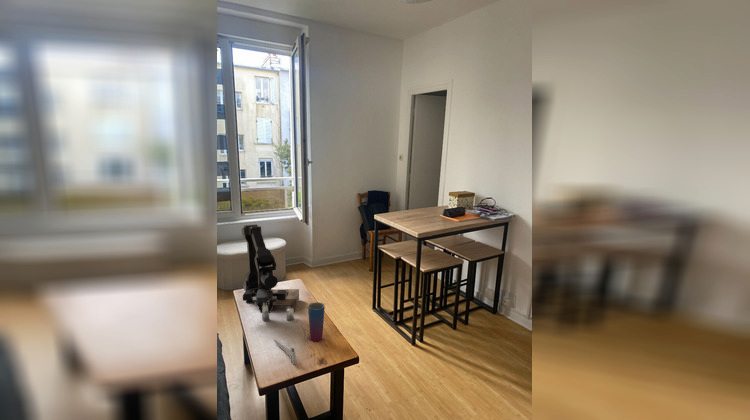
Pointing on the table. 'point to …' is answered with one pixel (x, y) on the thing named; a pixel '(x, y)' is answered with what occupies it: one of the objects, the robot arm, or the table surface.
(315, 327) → the cup
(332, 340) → the table surface
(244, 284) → the robot arm
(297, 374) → the table surface
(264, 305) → the long pin
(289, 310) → the short pin
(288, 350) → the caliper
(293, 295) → the board
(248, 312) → the table surface
